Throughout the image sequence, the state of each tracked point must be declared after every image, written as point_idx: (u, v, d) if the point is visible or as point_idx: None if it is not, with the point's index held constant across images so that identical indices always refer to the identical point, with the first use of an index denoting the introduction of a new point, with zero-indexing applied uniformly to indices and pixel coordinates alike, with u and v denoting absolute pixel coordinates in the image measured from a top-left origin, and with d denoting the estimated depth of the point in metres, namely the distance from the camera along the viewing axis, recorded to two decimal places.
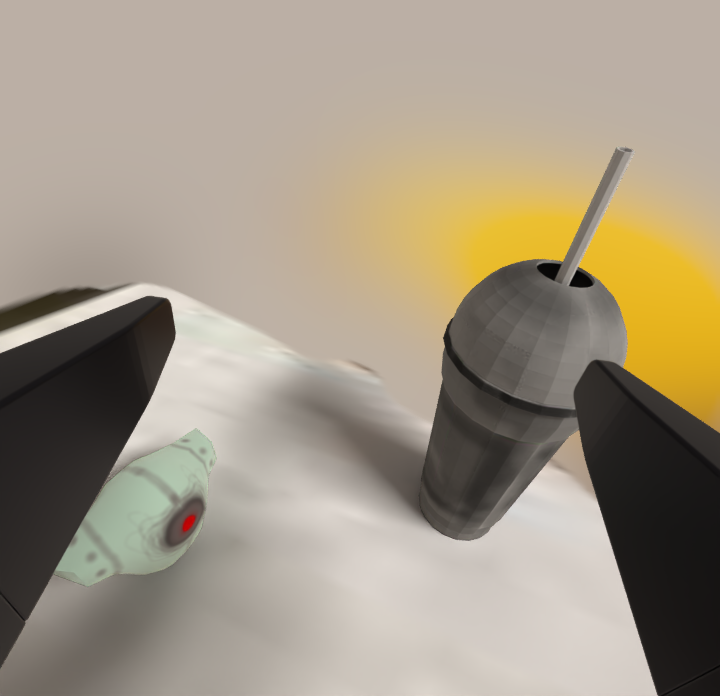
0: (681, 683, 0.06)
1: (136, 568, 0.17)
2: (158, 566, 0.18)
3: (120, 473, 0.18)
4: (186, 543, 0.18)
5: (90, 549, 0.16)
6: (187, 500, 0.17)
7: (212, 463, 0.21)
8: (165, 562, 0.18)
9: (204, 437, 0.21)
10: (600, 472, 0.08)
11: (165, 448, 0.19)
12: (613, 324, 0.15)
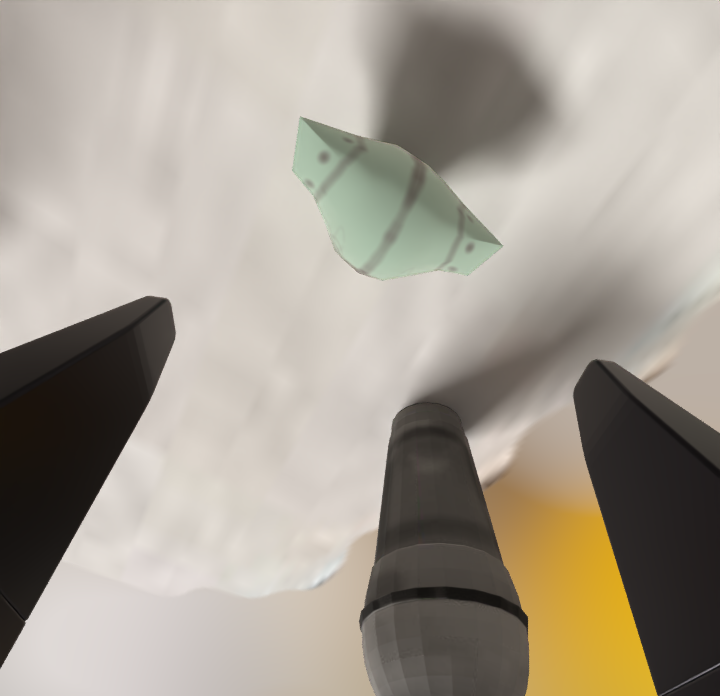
0: (681, 683, 0.06)
1: None
2: None
3: (401, 200, 0.13)
4: None
5: (314, 182, 0.14)
6: (369, 276, 0.15)
7: None
8: None
9: (478, 264, 0.15)
10: (600, 472, 0.08)
11: (449, 234, 0.14)
12: None
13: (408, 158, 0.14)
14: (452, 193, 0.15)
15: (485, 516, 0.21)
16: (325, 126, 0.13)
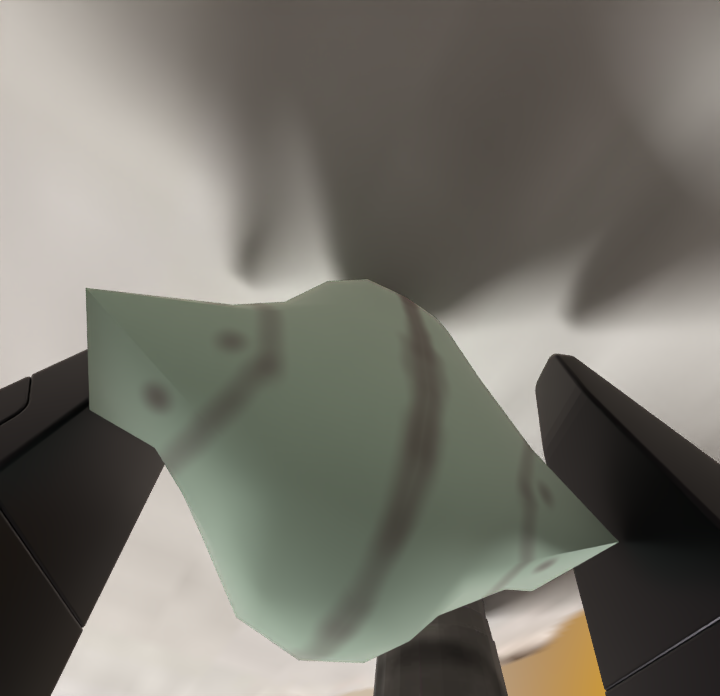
0: (625, 676, 0.06)
1: None
2: None
3: (369, 535, 0.04)
4: None
5: None
6: None
7: None
8: None
9: (558, 573, 0.07)
10: (556, 466, 0.08)
11: (500, 568, 0.05)
12: None
13: (396, 376, 0.05)
14: (504, 435, 0.06)
15: None
16: (168, 305, 0.05)
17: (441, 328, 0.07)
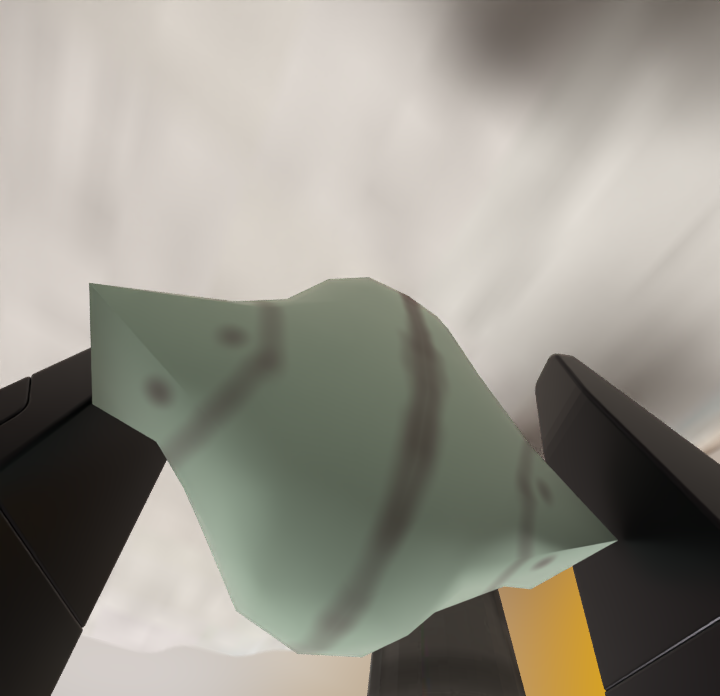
0: (624, 677, 0.06)
1: None
2: None
3: (367, 529, 0.05)
4: None
5: (149, 436, 0.05)
6: None
7: None
8: None
9: (557, 571, 0.07)
10: (556, 466, 0.08)
11: (498, 564, 0.05)
12: None
13: (395, 372, 0.05)
14: (503, 433, 0.06)
15: (506, 643, 0.17)
16: (170, 300, 0.05)
17: (442, 326, 0.08)
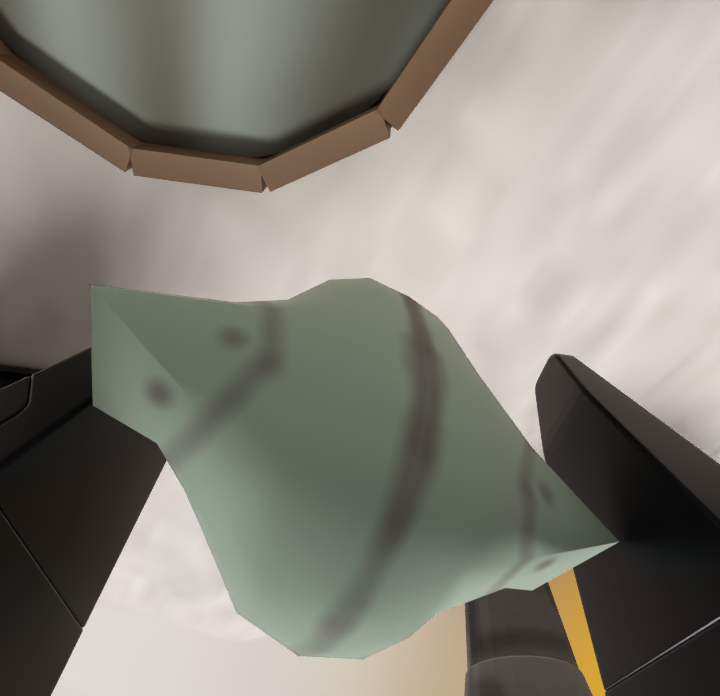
0: (624, 677, 0.06)
1: None
2: None
3: (368, 531, 0.05)
4: None
5: None
6: None
7: None
8: None
9: (559, 573, 0.07)
10: (556, 466, 0.08)
11: (500, 566, 0.05)
12: None
13: (396, 374, 0.05)
14: (505, 434, 0.06)
15: (559, 622, 0.25)
16: (171, 302, 0.05)
17: (442, 327, 0.07)
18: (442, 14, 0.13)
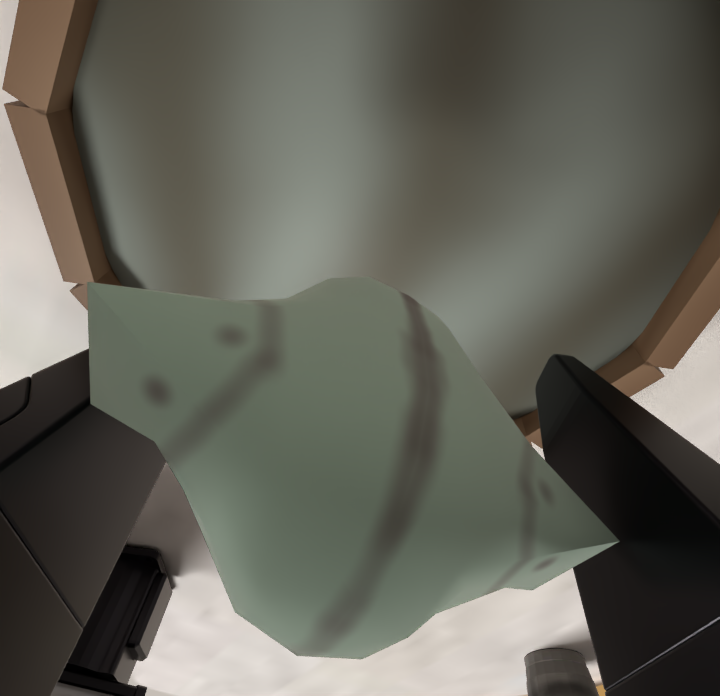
0: (624, 677, 0.06)
1: None
2: None
3: (367, 530, 0.04)
4: None
5: (147, 436, 0.05)
6: None
7: None
8: None
9: (559, 572, 0.07)
10: (556, 466, 0.08)
11: (499, 565, 0.05)
12: None
13: (396, 372, 0.05)
14: (505, 433, 0.06)
15: None
16: (169, 299, 0.05)
17: (442, 326, 0.07)
18: None
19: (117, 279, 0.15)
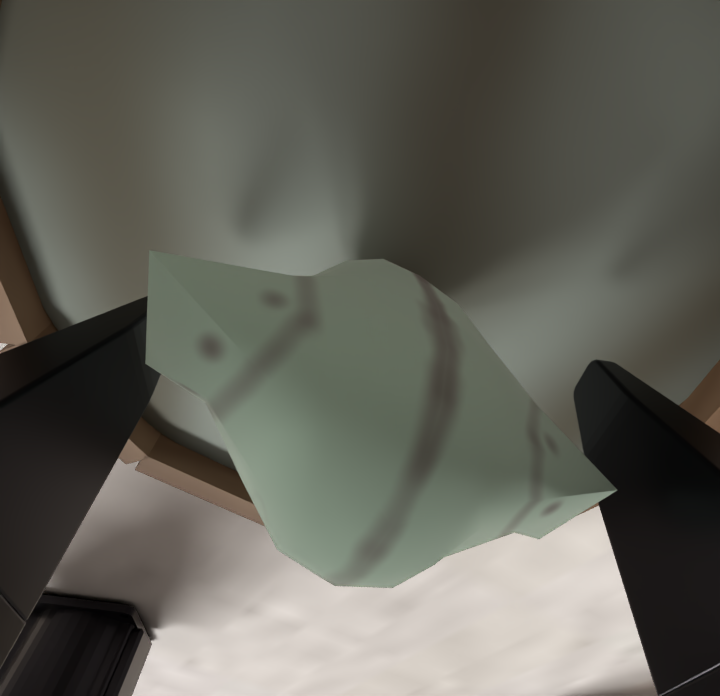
0: (680, 683, 0.06)
1: None
2: None
3: (400, 464, 0.05)
4: None
5: (197, 392, 0.06)
6: None
7: None
8: None
9: (563, 521, 0.07)
10: None
11: (512, 505, 0.06)
12: None
13: (418, 332, 0.06)
14: (513, 391, 0.07)
15: None
16: (219, 267, 0.06)
17: (452, 301, 0.08)
18: None
19: None
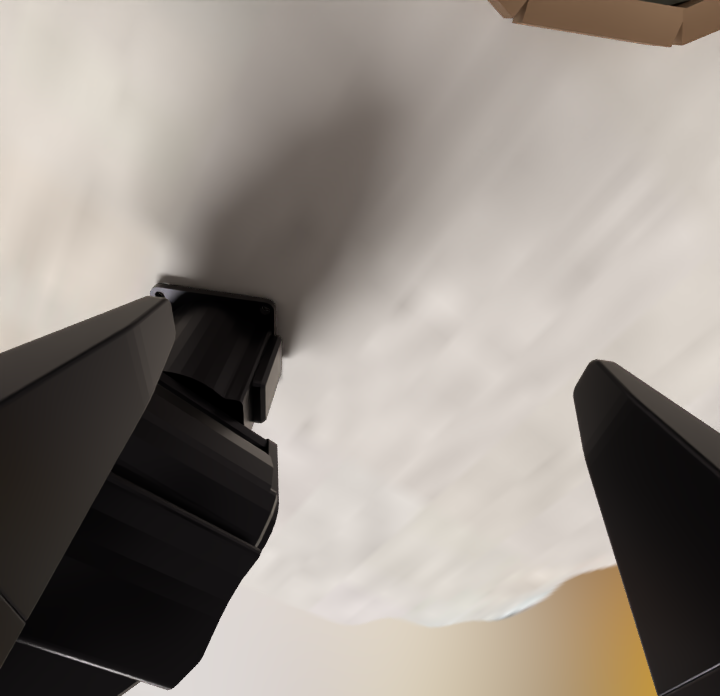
0: (681, 683, 0.06)
1: None
2: None
3: None
4: None
5: None
6: None
7: None
8: None
9: None
10: (600, 472, 0.08)
11: None
12: None
13: None
14: None
15: None
16: None
17: None
18: None
19: None
